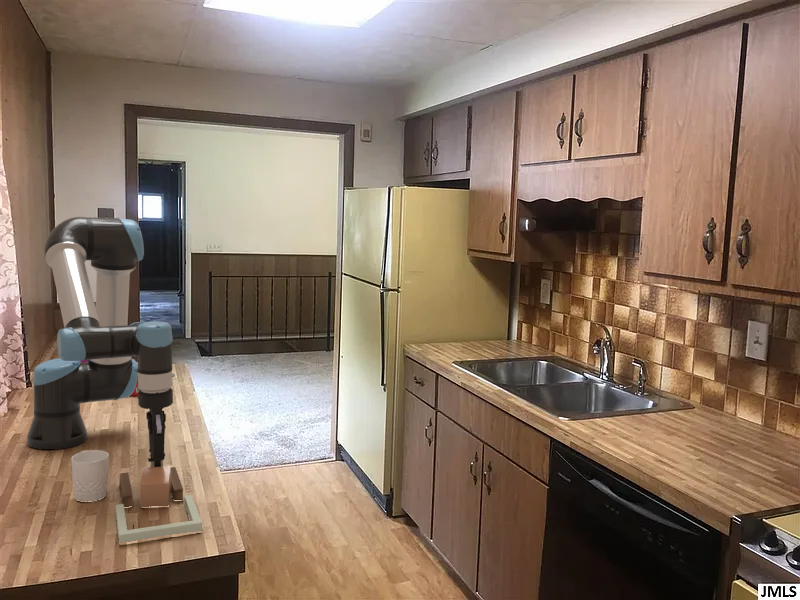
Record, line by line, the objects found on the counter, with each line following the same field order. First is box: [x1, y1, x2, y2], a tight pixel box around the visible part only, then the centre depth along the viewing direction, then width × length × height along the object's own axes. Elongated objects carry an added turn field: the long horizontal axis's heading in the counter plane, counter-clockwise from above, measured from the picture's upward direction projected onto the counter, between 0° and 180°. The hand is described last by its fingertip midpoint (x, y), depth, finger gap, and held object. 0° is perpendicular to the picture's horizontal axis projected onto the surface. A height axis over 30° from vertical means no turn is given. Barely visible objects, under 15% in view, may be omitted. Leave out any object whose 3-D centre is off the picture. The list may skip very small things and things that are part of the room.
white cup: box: [70, 449, 110, 502], centre depth 152 cm, size 8×8×10 cm
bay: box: [115, 494, 203, 544], centre depth 142 cm, size 16×15×2 cm
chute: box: [119, 466, 184, 507], centre depth 157 cm, size 13×14×3 cm
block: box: [139, 465, 172, 508], centre depth 151 cm, size 6×6×7 cm
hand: (157, 485), depth 155 cm, fingers closed
